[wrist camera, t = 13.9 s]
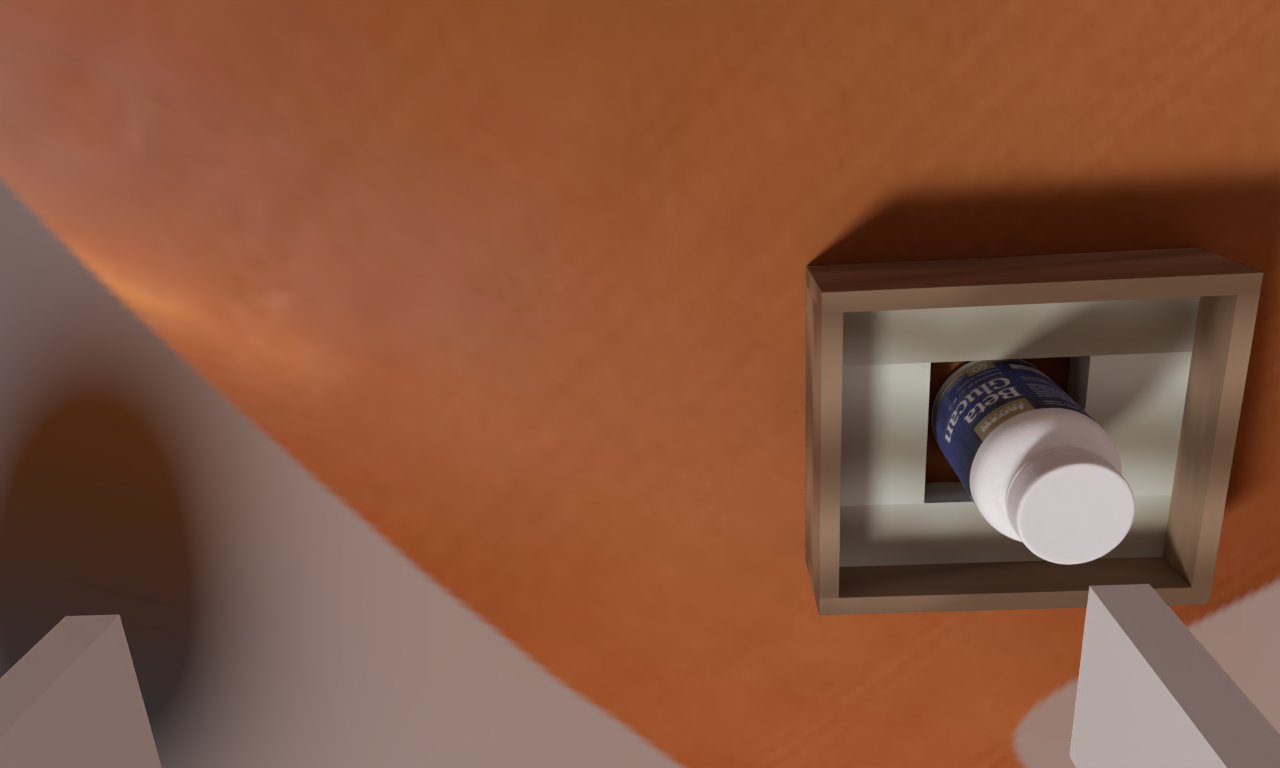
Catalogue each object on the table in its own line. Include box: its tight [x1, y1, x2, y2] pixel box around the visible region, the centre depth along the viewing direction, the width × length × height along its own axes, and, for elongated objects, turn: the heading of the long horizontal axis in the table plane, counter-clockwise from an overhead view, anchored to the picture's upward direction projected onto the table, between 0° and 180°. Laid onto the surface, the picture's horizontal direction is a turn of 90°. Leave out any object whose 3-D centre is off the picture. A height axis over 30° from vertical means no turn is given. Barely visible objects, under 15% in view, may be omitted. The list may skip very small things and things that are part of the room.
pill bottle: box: [931, 359, 1135, 565], centre depth 38 cm, size 5×5×10 cm
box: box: [806, 247, 1263, 615], centre depth 40 cm, size 14×16×4 cm
